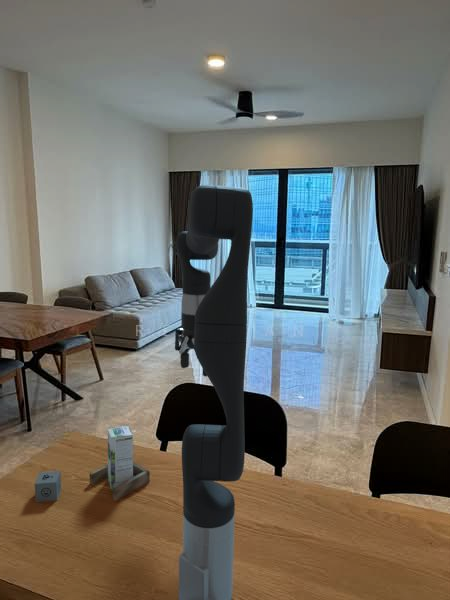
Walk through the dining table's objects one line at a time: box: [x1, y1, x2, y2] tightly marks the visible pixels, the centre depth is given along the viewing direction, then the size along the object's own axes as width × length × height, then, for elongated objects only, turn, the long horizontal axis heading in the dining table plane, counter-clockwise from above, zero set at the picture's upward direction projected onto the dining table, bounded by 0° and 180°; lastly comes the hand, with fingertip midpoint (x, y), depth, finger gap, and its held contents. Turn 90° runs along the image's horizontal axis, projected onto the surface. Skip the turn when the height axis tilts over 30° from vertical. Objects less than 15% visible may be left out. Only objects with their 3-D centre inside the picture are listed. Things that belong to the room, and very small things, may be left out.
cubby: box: [89, 461, 151, 502], centre depth 114 cm, size 11×11×3 cm
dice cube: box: [34, 470, 62, 503], centre depth 108 cm, size 5×5×5 cm
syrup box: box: [107, 425, 134, 491], centre depth 113 cm, size 6×6×14 cm
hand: (195, 371), depth 112 cm, fingers open, 8 cm apart
